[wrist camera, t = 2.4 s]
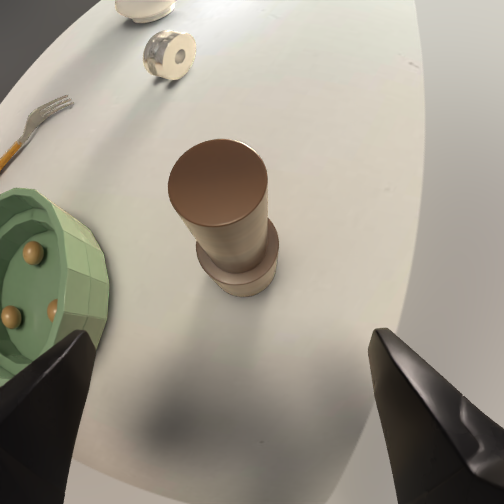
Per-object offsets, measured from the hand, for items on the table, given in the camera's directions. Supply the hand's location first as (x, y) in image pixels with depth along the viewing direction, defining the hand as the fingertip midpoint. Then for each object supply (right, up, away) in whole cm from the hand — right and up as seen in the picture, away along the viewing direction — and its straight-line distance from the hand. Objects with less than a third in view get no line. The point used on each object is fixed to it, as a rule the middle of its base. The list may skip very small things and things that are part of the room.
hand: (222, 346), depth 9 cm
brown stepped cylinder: (0, +2, +12) cm, 12 cm away
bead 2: (-17, +2, +13) cm, 21 cm away
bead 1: (-19, -3, +11) cm, 22 cm away
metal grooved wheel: (-7, +21, +18) cm, 29 cm away
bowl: (-16, -1, +12) cm, 21 cm away
